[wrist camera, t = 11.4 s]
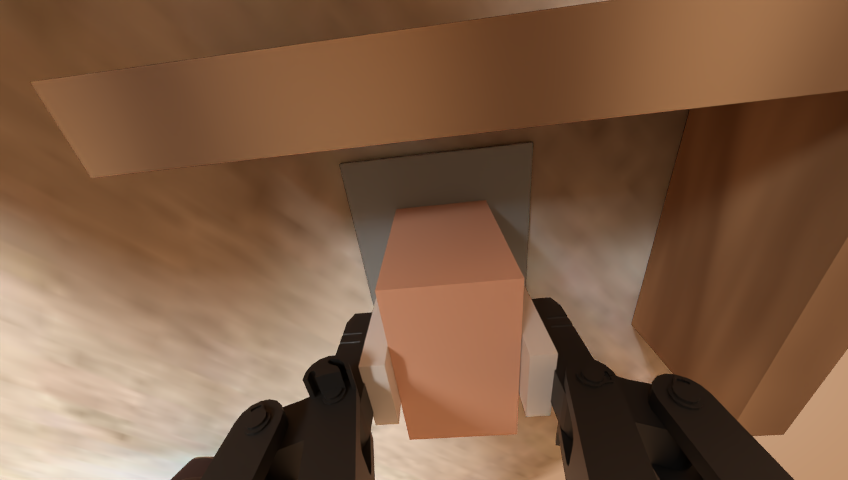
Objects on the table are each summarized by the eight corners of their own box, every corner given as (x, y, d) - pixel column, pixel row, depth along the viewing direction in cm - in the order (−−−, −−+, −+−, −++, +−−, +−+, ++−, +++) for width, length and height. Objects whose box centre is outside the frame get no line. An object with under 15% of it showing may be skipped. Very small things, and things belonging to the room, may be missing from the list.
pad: (385, 348, 18) (384, 351, 18) (340, 163, 13) (339, 164, 13) (521, 338, 17) (522, 341, 17) (531, 141, 12) (533, 142, 12)
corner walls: (317, 347, 18) (270, 459, 12) (216, 83, 11) (30, 81, 6) (668, 321, 17) (783, 434, 11) (777, 7, 10) (1166, -78, 5)
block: (396, 209, 13) (374, 290, 8) (485, 200, 13) (524, 277, 8) (415, 326, 17) (410, 439, 11) (488, 320, 16) (516, 434, 11)
